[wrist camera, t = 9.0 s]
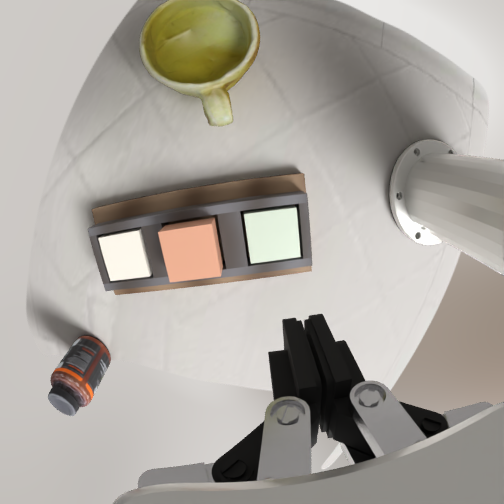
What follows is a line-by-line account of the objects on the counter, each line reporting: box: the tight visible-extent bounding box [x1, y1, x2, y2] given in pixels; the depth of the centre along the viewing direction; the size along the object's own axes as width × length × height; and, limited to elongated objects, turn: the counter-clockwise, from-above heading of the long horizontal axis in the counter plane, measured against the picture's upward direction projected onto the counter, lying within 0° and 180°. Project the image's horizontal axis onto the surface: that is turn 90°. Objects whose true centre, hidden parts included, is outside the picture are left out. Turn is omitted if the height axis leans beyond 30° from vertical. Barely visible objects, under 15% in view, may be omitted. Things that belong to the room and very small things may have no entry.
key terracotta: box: [158, 218, 223, 282], centre depth 24 cm, size 5×5×2 cm
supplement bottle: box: [48, 336, 111, 416], centre depth 28 cm, size 6×6×11 cm
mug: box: [139, 0, 260, 126], centre depth 19 cm, size 12×10×10 cm
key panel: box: [88, 173, 312, 295], centre depth 27 cm, size 22×10×4 cm, turn 97°
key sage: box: [244, 204, 301, 264], centre depth 26 cm, size 5×5×2 cm
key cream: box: [98, 227, 152, 281], centre depth 26 cm, size 5×5×2 cm
